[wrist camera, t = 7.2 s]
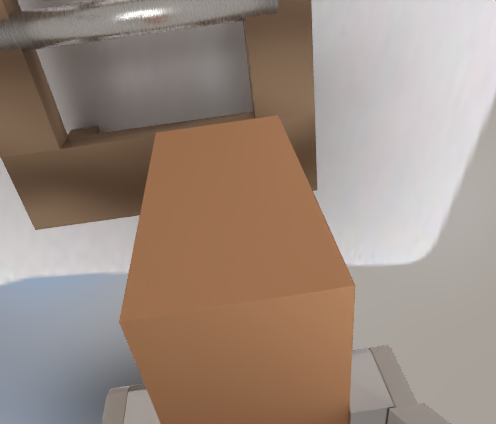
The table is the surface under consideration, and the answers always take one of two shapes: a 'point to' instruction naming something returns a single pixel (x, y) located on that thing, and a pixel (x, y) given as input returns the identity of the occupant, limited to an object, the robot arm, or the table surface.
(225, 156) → the tan cardboard brick
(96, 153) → the small wooden table
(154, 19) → the grey textured rod
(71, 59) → the table surface
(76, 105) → the table surface
